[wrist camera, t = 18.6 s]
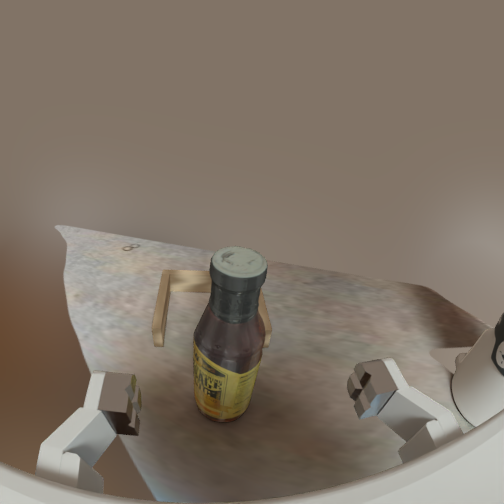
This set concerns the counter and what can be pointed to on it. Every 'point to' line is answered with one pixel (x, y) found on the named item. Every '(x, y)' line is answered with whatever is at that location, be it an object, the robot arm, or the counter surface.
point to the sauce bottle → (230, 335)
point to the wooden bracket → (190, 283)
